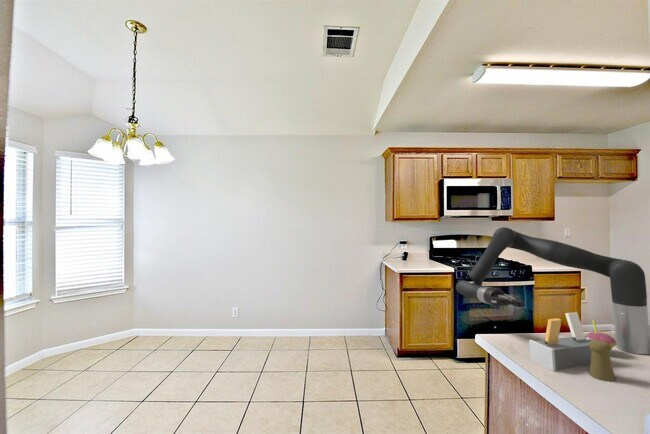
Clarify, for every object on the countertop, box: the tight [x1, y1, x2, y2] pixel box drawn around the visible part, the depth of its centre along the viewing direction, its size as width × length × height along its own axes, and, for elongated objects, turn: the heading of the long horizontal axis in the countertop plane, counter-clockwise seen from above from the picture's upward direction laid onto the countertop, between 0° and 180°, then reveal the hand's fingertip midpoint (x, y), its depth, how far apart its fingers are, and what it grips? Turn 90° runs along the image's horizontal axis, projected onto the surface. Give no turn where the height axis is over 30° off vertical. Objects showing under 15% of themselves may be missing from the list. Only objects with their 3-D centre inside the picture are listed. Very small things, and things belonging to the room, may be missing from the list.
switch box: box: [528, 336, 593, 372], centre depth 104 cm, size 21×9×7 cm, turn 99°
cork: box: [589, 340, 616, 383], centre depth 93 cm, size 6×6×11 cm
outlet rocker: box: [544, 317, 562, 344], centre depth 102 cm, size 4×1×9 cm, turn 99°
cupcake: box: [585, 318, 617, 356], centre depth 110 cm, size 9×8×12 cm
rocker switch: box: [564, 311, 586, 340], centre depth 106 cm, size 4×1×9 cm, turn 99°
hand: (522, 304), depth 115 cm, fingers closed
